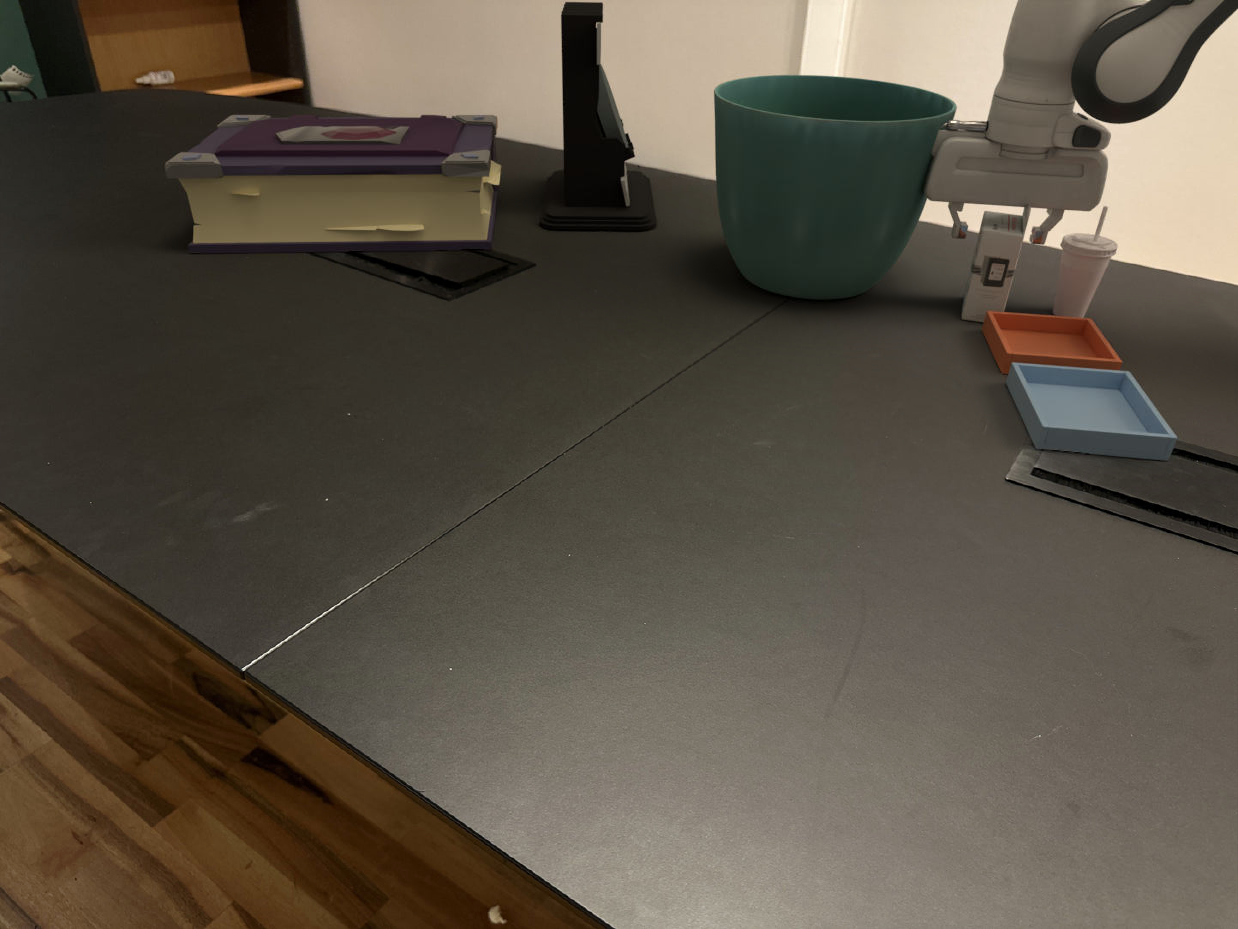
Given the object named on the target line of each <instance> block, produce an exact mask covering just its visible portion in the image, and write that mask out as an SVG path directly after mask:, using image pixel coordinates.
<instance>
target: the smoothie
mask: <svg viewBox="0 0 1238 929" xmlns="http://www.w3.org/2000/svg"><path fill="white" fill-rule="evenodd" d="M1108 210H1109V206H1108V205H1103V207H1102V209H1101V213H1100V216H1099V219H1098V222H1097V226H1096V230H1095V233H1094V234H1091V233H1078V232H1077V233H1068V234H1065V235H1064V236H1063V237H1062V240H1061V242H1060V244H1059V245H1060V247H1061V249H1062V250H1061V254H1060V255H1061V256H1060V261H1059V262H1060V263H1059V267H1058V268H1059V269H1058V273H1057V274H1058V275H1057V282H1056V288H1055V294H1054V302H1053V308H1052V314H1053V315H1054V316H1066V317H1080V318H1085V315H1086V313H1087V311H1088V310H1089V307H1090V304H1091V302H1092V300H1093V298H1094V296H1095V294H1096V291H1097V289H1098V287H1099V285H1100V283H1101V281H1102V279H1103V276H1104V274H1105V272H1106V270H1107V268H1108V266H1109V264H1110V262H1111V260H1112V257H1114V256H1115V255H1116V254H1117V250H1118V247H1119V245H1118V243H1117V242H1116V241H1115V240H1113V239H1111V238H1108V237H1105V236H1102V235H1101V232H1102V230H1103V227H1104V223H1105V220H1106V216H1107V213H1108Z"/></svg>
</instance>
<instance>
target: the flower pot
mask: <svg viewBox="0 0 1238 929" xmlns="http://www.w3.org/2000/svg"><path fill="white" fill-rule="evenodd" d="M713 97H714V98H713V104H714V105H713V106H714V107H713V108H714V159H715V184H716V198H717V205H718V206H717V207H718V214H719V219H720V220H719V221H720V224H721V229H722V232H723V233H722V234H723V237H724V240H725V242H726V246H727V248H728V250H729V253H730V255H731V257H732V259H733V261H734V263H735V265H736V268H738V270H739V272H740V273H741V275H742V276H743V277H744V278H745V279H746V280H747V281H748V282H749V283H751V284H752V285H754V286H756V287H758V288H760V289H763V290H766V291H768V292H771V293H774V294H777V295H778V294H779V295H782V296H786V297H791V298H799V299H805V300H817V301H818V300H840V299H847V298H853V297H856V296H860V295H862V294H864V293H866V292H868V291H870V290H871V289H872V288H873V287H874V286H876V285H877V284H878V283H879V282H880V281H881V280H882V278H884V277H885V275H886V274H887V273H888V272H889V271H890V270H891V269H892V267H893V266H894V265H895V263H896V262H897V261H898V260H899V258H900V257H901V255H902V254H903V252H904V251H905V248H906V247H907V245H908V244H909V243H910V240H911V237H912V235H913V234H914V232H915V230H916V228H917V226H918V224H919V221H920V219H921V216H922V214H923V211H924V208H925V206H926V203H927V201H928V198H927V197H926V195H925V194H924V192H923V186H924V183H925V179H926V176H927V172H928V169H929V166H930V163H931V161H932V154H931V152H932V149H933V146H934V143H935V140H936V137H937V134H938V131H939V130H941V129H947V128H946V127H943V128H941V125H942V124H944V123H947V121H948V120H955V116H956V112H957V109H958V106H957V104H956V102H955V101H954V100H952V99H951V98H949V97H947V96H945V95H943V94H940V93H937V92H934V91H931V90H928V89H924V88H921V87H916V86H911V85H907V84H900V83H896V82H889V81H884V80H883V81H882V80H875V79H867V78H861V77H850V76H849V77H848V76H835V75H817V74H816V75H815V74H774V75H773V74H772V75H757V76H749V77H748V76H747V77H741V78H735V79H732V80H728V81H725V82H721V83H719V84H718V85H717V86H716V87H715V88H714V90H713ZM940 128H941V129H940Z"/></svg>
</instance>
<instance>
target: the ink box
mask: <svg viewBox="0 0 1238 929" xmlns="http://www.w3.org/2000/svg"><path fill="white" fill-rule="evenodd" d="M1031 211H1032V208H1031V203H1029V205H1028V207H1023V212H1022V214H1014V213H1013V214H1012V213H1007V212H999V211H991V210H984V211H983V214H982V219H981V223H980V227H979V231H978V236H977V238H976V244H975V248H974V253H973V257H972V261H971V265H970V269H969V273H968V277H967V281H966V285H965V290H964V294H963V299H962V300H963V301H962V309H961V320H963V321H971V322H976V323H983V324H984V320H985V316H986V312H987V311H996V312H1005V310H1006V306H1007V302H1008V298H1009V295H1010V291H1011V287H1012V284H1013V280H1014V276H1015V272H1016V269H1017V264H1018V261H1019V258H1020V255H1021V249H1022V246H1023V242H1024V238H1025V234H1026V232H1027V231H1026V230H1027V227H1028V223H1029V220H1030V216H1031Z"/></svg>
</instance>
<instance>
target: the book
mask: <svg viewBox="0 0 1238 929" xmlns="http://www.w3.org/2000/svg"><path fill="white" fill-rule="evenodd" d="M498 127H499V126H498V116H496V115H495V114H456V115H451V117H447V115H439V114H421V115H420V116H418V117H415V116H414V117H412V116H411V117H408V116H407V117H405V116H404V117H401V116H400V117H399V116H398V117H397V116H396V117H395V116H392V117H391V116H352V117H351V116H345V117H344V116H343V117H341V116H340V117H339V116H337V117H336V116H335V117H328V116H327V117H319V114H294V115H291V116H289V117H272V116H271V115H267V114H232V115H229V116H228V117H227V118H225V119H223V120H222V121H221V122H220V123H219V124H217V125H216V128H217V129H216V130H214V132H212V133H211V134H210V135H208V136H207V137H205V138H204V139H203V140H201V141H200V143H199V144H197V145H195V146H193V147H192V148H191V149H189V150H187V151H180V152H179V153H177V154H176V155H173V157H171V158H170V159H169V160H167V161H166V162H165V163H164V170H165V176H166V179H178V181H179V183H180V184H181V187H182V188H183V190H184V191H185V192H186V195H187V199H188V204H189V207H190V213H191V216H192V219H193V223H194V224H193V231H192V232H193V235H192V241H191V242H189V243H188V244H187V247H188V250H189V253H190V252H200V254H266V253H268V254H270V253H271V254H274V253H279V254H280V253H347V252H348V253H350V252H349V251H356V250H357V251H365V252H433V251H434V252H435V251H437V250H447V251H463V250H462V249H467V248H478V249H484V250H483V251H492V248H493V241H494V232H495V224H496V217H497V216H496V214H497V206H498V199H499V186H500V183H501V182H500V181H501V174H502V165H501V164H499V163H498V158H497V157H498V156H497V138H496V136H497V135H498ZM366 250H367V251H366ZM201 252H202V253H201ZM204 252H205V253H204ZM437 252H438V251H437Z"/></svg>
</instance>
